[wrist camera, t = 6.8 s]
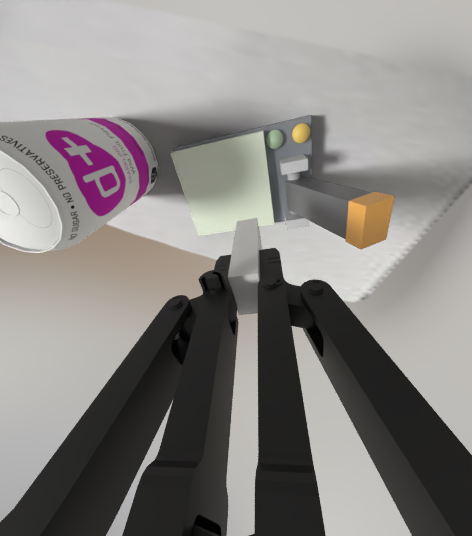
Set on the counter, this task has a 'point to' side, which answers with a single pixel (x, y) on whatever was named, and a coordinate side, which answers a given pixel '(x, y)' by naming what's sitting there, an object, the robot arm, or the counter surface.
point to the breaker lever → (340, 209)
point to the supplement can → (68, 179)
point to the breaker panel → (244, 175)
